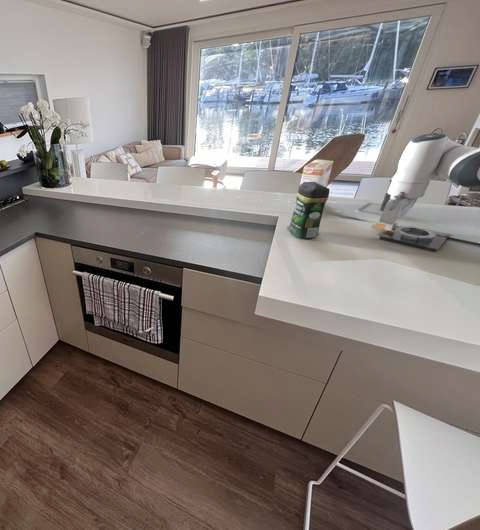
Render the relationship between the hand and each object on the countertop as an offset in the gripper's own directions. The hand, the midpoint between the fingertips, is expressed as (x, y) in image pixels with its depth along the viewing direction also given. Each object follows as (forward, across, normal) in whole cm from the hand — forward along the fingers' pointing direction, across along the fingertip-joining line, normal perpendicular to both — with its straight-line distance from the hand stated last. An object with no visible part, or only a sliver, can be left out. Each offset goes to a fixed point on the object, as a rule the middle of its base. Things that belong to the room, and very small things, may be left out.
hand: (389, 228), depth 100 cm
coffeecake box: (+2, +6, +30) cm, 30 cm away
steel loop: (+1, 0, -4) cm, 4 cm away
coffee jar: (+2, -20, +20) cm, 28 cm away
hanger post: (+2, +20, +8) cm, 22 cm away
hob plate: (+2, 0, -6) cm, 7 cm away
